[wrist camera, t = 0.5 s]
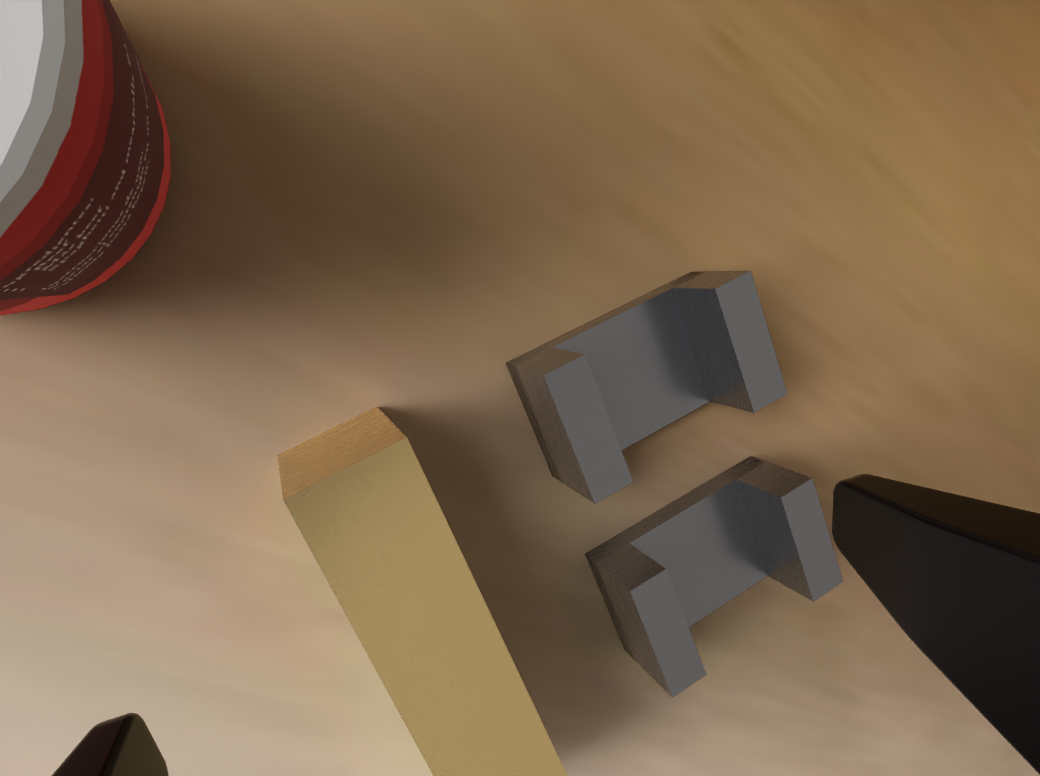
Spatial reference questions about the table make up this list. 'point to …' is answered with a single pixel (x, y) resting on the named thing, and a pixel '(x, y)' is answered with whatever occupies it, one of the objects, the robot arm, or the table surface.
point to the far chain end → (711, 562)
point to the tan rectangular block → (413, 600)
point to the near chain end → (645, 374)
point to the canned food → (73, 151)
